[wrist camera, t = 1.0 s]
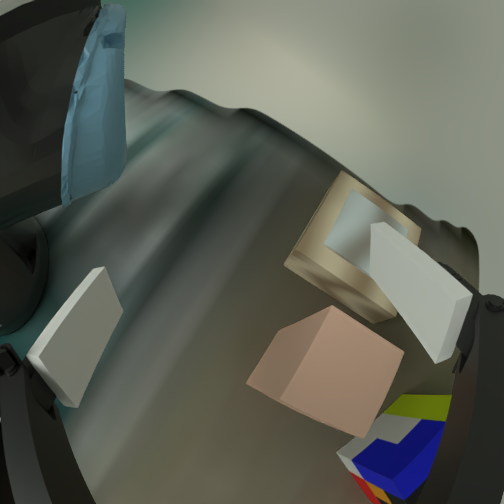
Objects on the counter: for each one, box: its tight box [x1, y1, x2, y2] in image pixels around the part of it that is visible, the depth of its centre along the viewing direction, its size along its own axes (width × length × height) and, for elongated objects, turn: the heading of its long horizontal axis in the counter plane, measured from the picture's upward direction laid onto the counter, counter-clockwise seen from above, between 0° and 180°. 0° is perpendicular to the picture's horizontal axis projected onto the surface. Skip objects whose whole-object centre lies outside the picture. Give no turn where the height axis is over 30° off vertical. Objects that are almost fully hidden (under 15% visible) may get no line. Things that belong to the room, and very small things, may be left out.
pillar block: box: [246, 305, 404, 439], centre depth 19 cm, size 6×6×12 cm
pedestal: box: [283, 170, 421, 324], centre depth 29 cm, size 12×12×5 cm
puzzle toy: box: [336, 394, 452, 504], centre depth 18 cm, size 10×10×10 cm
